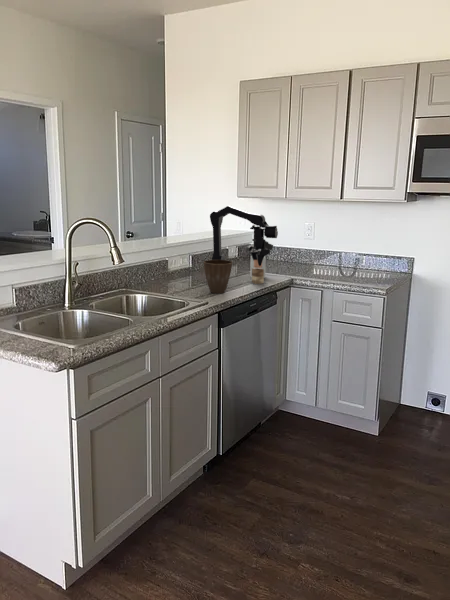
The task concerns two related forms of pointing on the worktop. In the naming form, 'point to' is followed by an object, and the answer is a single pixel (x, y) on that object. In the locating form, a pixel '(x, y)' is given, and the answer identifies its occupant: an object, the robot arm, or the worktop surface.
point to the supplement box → (255, 267)
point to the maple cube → (258, 279)
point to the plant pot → (217, 274)
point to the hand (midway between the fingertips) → (257, 265)
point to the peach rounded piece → (257, 264)
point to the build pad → (257, 284)
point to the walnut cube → (257, 272)
